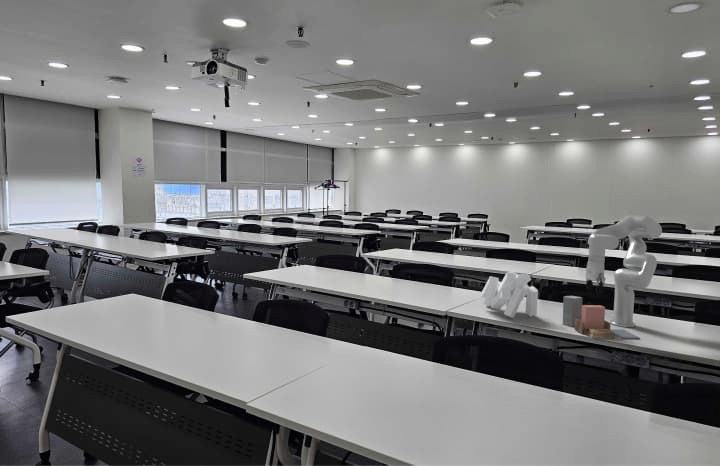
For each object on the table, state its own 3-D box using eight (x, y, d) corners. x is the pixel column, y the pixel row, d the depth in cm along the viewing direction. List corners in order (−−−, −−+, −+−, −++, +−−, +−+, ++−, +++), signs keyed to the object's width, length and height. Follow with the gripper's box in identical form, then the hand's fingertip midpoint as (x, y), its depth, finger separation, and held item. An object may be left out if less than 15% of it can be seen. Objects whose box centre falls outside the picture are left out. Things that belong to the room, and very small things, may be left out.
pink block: (580, 330, 238) (582, 305, 237) (599, 331, 238) (600, 305, 237) (584, 333, 234) (586, 306, 233) (603, 333, 234) (605, 307, 233)
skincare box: (572, 327, 245) (573, 298, 243) (560, 323, 251) (562, 296, 250) (582, 325, 249) (584, 297, 247) (571, 322, 255) (572, 294, 254)
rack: (574, 329, 239) (575, 318, 239) (602, 330, 239) (603, 319, 239) (581, 333, 232) (581, 322, 232) (609, 334, 232) (610, 323, 232)
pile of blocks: (467, 318, 278) (475, 274, 259) (488, 293, 298) (497, 250, 279) (522, 344, 260) (535, 298, 241) (540, 316, 280) (553, 272, 261)
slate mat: (606, 330, 239) (606, 329, 239) (623, 331, 239) (623, 329, 239) (622, 339, 225) (622, 337, 225) (639, 339, 225) (640, 337, 225)
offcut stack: (587, 335, 230) (588, 328, 229) (608, 335, 230) (609, 328, 230) (591, 337, 226) (592, 330, 225) (613, 338, 226) (613, 331, 226)
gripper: (580, 256, 241) (578, 287, 242) (598, 260, 224) (596, 294, 225) (594, 257, 241) (592, 288, 243) (613, 261, 224) (610, 295, 225)
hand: (594, 291), depth 234 cm, fingers open, 9 cm apart
